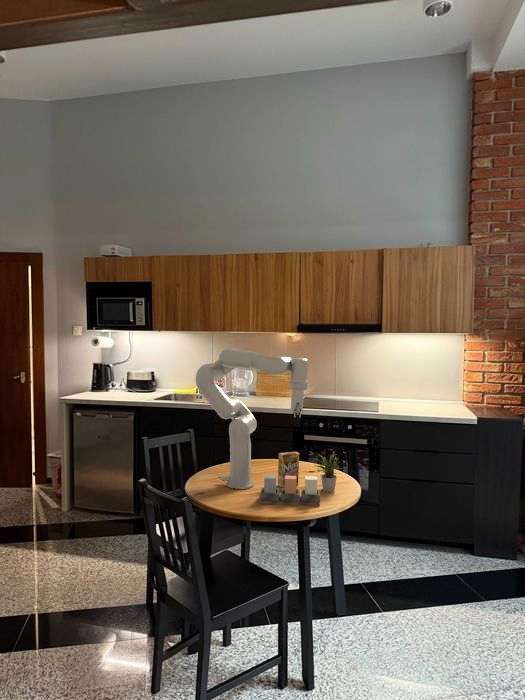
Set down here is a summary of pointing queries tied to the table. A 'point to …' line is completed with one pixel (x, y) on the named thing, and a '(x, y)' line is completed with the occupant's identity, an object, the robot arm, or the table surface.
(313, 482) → the cream button
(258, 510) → the table surface
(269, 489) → the slate button
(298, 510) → the table surface
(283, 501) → the button board
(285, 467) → the candy box
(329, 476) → the house plant
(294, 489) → the terracotta button
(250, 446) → the robot arm
